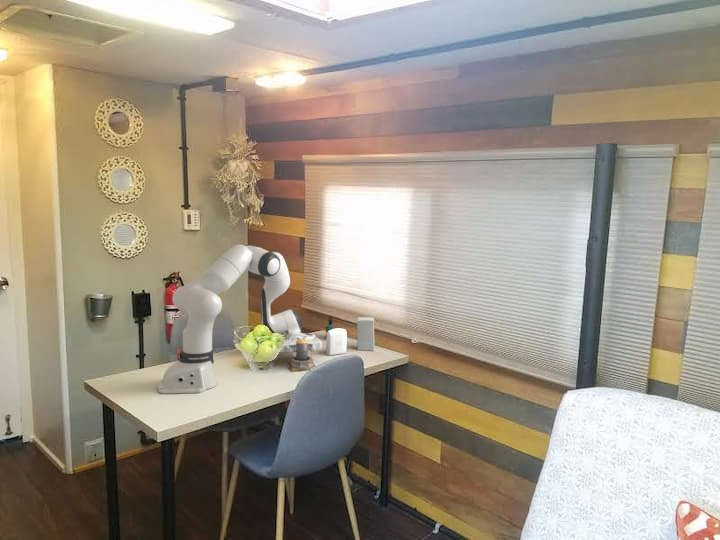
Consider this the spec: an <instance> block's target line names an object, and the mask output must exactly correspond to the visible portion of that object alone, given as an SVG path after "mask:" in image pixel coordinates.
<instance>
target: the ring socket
mask: <svg viewBox="0 0 720 540" xmlns="http://www.w3.org/2000/svg"><path fill="white" fill-rule="evenodd" d="M286 363H287V364H286V365H287V366H288V369H290V372H291V373H294V372H308V370H309V371H311V370H310V369H311V368H313V367H315V366H316V365H315V363H314V359H313V357H312V356H309V355H308V360H307V361H297V360H296V355H295V356H293V357H291V359H290V362H289V361H288V362H286Z"/></svg>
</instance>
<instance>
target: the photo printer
mask: <svg viewBox="0 0 720 540" xmlns="http://www.w3.org/2000/svg"><path fill="white" fill-rule="evenodd" d="M347 332H348V331H347V330H346V329H345V328H340V327H339V328H338V327H337V328H334V329H332V330H330V331H328V332H327V339H326V338H325V340H326V344H325V345H326V346H325V351H326V352H325V353H326V356H335V355H341V354H346V353H347V345H348V344H347V342H348V341H347V340H348V337H347V336H348V335H347Z"/></svg>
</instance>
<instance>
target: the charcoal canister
mask: <svg viewBox="0 0 720 540" xmlns="http://www.w3.org/2000/svg"><path fill="white" fill-rule="evenodd" d="M308 353H309V351H308V341H307V340H297V341H296V352H295V356H296V360H297V361H307V360H308V356H309V354H308Z"/></svg>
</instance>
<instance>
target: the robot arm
mask: <svg viewBox="0 0 720 540" xmlns="http://www.w3.org/2000/svg"><path fill="white" fill-rule="evenodd" d="M245 271H248V272H249V273H253V274H255V275H259V276H261V277H263V278H264V285H263V287H262V288H261V290H260V294H259V295H260V296H259V298H260V301H259V302H260V316H261V317H260V320H261V321H260V326H261V325H265V326H267V327H268V328H269V330H270V331H271V332H272V333H279V334H280V335H282V336H283V335H284V336H285V341H284V340H283V341H284V343H283V346H282V349H281V350H280V352H279V353H289V354H292V353H293V354H294V353H296V341H297V340H307V341H308V352H309V351H310V352H315V351H319V350H322V349H323V343H322V340H321V339H320V338H319V337H316V335H315V334H312V333H303V332H302V330H303V322H302V319H301V317H300V315H299V313H298V312H297V311H296V310H294V309H293V308H291V309H287V310H285V311H282V312H279V313H276V314H271V304H272V303H273V302H274V300H277V298H279V297H280V296H282V295H283V294H284V293H285V292H286V291H287V290H288V289H289V287H290V285H291V278H290V272H289V267H288V266H287V263H286V260H285V258H284V256H283V255H282V254H281V253H279V252H278V251H272V252H271V251H269V250H267V249H264V248H262V247H260V246H255V245H251V244H240V243H239V244H235V245H233V246H232V247H231V248H229V249H228V250H227V251H225V252H224V253H222V255H221V256H220V257H219V258H218V259H217V260H216V261H215V262H214V263H213V264H211V265H210V267H209V268H207V270H205V271H204V272H203V273H202V274H200V275H199V276H197V277H196V278H195V279H193V280H191V281H190V282H188V283H187V284H184V285H182V286H179V287H178V288H177V289H176V290H175V291H174V292H173V294H172V300H171V301H172V304H173V306H174V307H175V308H176V309H177V310H179V311H180V312H181V313H184V314H187V315H188V320H187V325H186V327H185V328H184V329H183V331H182V349H177V350H176V355H177V360H176V361H175V362H174V363H173V364H172V365H170V366H169V367H168V368H166V370H165V372H164V374H163V377H162V378H163V379H162V380H161V381H159V382H158V384H157V391H158V393H160V394H196V393H198V394H199V393H203V392H204V391H206V390H209V389H212V388H214V387H215V386H217V385H218V381H217V378H216V372H215V367H214V362H215V352H214V348H213V328H214V323H215V320H216V318H217V316H218V315H219V314H220V313H221V311H222V309H223V302H222V299H221V298H220V296H218V295H219V294H221V293H224V292H227V291H228V290H229V289H231V287H232V285H233V284H235V283H236V282H237V280H238V279H239V278H240V277H241V276H242V275H243V274H244V272H245Z"/></svg>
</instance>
